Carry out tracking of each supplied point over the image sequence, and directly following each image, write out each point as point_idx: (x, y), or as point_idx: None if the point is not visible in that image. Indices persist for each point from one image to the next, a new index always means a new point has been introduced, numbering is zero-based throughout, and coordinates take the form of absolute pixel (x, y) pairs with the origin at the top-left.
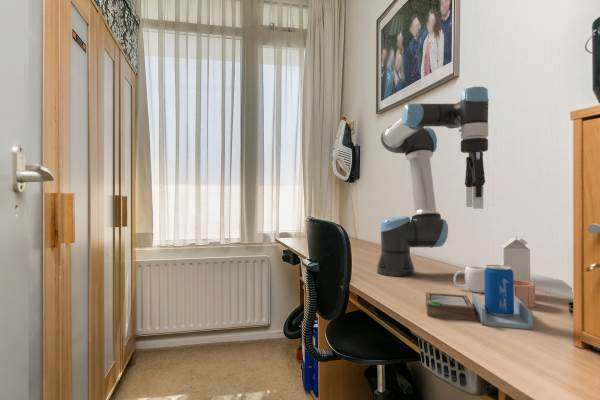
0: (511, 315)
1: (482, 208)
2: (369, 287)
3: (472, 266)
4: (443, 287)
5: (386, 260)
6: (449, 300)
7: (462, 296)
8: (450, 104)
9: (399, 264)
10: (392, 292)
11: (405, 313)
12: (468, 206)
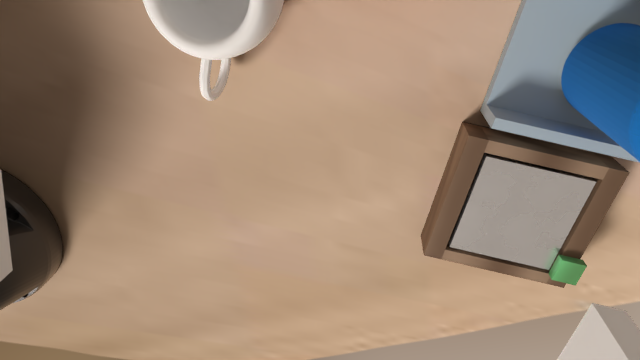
0: None
1: (621, 320)
2: (249, 343)
3: (159, 10)
4: (201, 115)
5: (5, 304)
6: (524, 213)
7: (481, 156)
8: None
9: (19, 255)
10: (302, 296)
11: (522, 310)
12: (3, 250)
